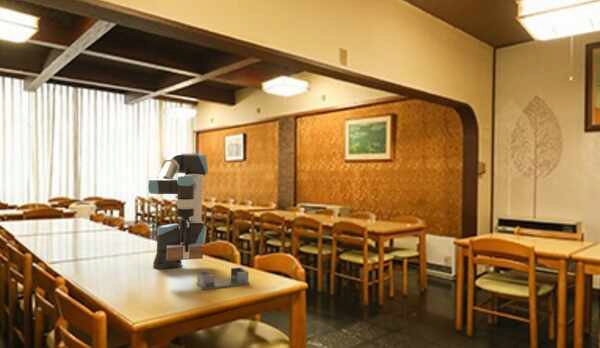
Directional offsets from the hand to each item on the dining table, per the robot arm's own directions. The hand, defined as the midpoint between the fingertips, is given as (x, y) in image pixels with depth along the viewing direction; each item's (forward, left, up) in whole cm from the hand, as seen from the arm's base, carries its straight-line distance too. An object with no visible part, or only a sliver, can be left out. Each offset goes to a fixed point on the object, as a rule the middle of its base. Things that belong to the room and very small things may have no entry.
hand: (184, 257), depth 187 cm
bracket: (+9, +16, -12) cm, 22 cm away
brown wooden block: (0, 0, -1) cm, 1 cm away
